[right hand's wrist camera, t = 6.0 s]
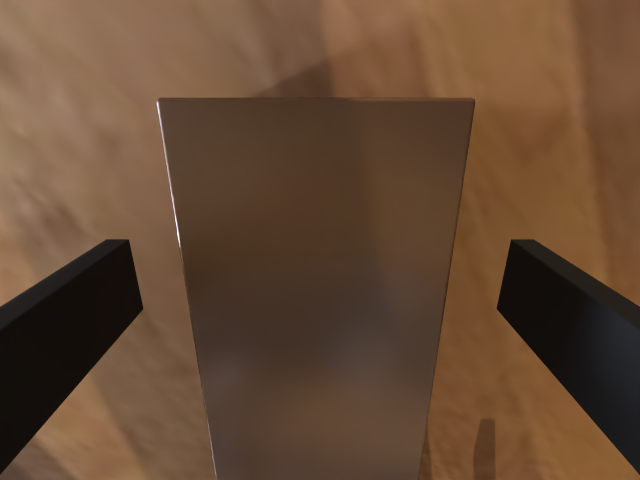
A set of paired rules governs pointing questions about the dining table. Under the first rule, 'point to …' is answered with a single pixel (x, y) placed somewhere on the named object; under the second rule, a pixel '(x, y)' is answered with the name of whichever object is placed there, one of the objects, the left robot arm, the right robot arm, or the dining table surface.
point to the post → (316, 274)
